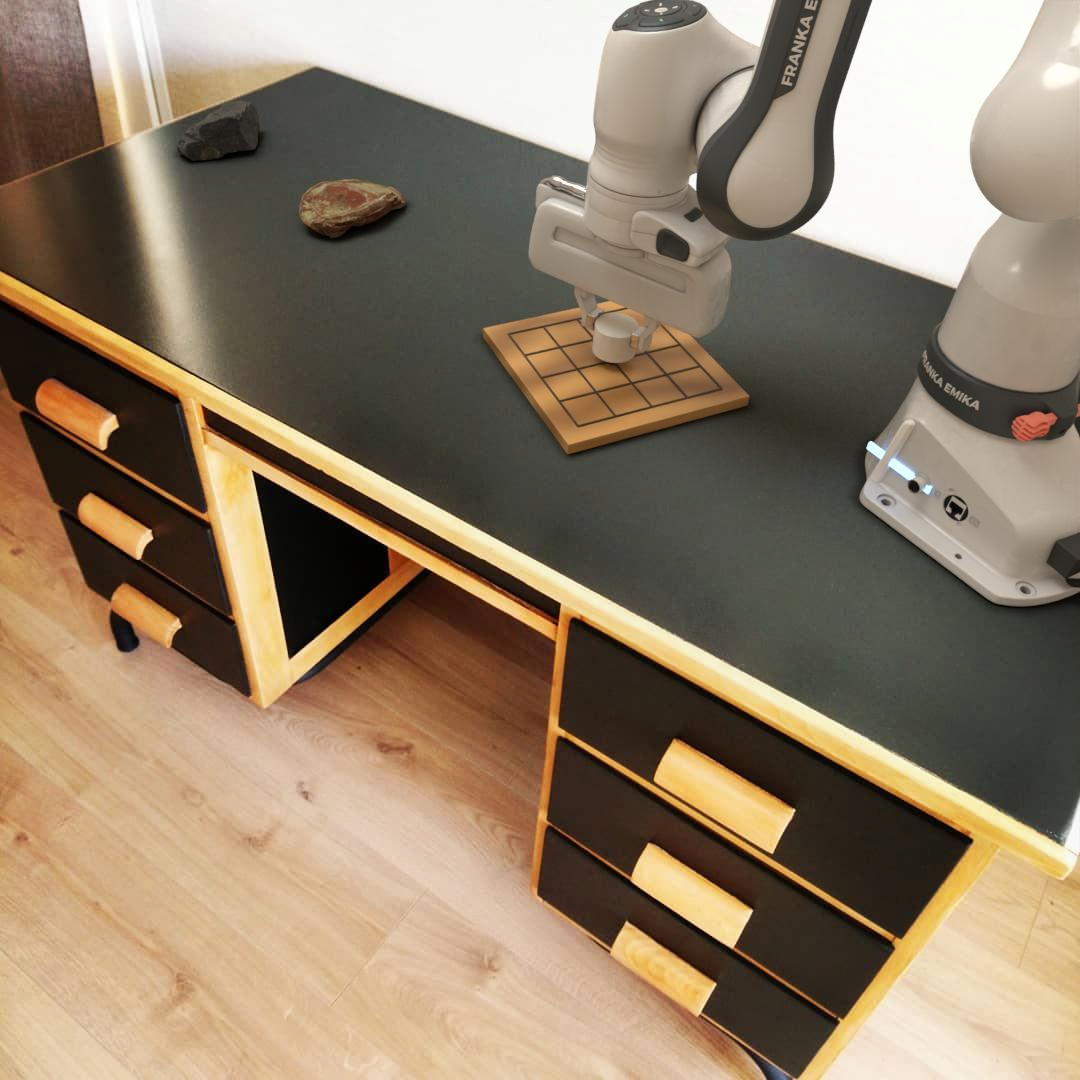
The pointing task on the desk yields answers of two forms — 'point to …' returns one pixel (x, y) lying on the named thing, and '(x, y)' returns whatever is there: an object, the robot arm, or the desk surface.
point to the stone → (346, 205)
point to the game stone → (614, 337)
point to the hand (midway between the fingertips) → (615, 336)
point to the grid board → (610, 379)
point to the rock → (222, 132)
